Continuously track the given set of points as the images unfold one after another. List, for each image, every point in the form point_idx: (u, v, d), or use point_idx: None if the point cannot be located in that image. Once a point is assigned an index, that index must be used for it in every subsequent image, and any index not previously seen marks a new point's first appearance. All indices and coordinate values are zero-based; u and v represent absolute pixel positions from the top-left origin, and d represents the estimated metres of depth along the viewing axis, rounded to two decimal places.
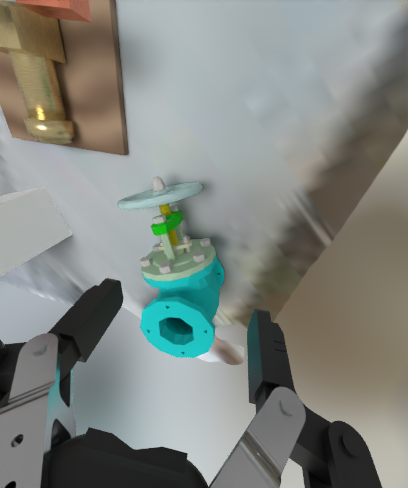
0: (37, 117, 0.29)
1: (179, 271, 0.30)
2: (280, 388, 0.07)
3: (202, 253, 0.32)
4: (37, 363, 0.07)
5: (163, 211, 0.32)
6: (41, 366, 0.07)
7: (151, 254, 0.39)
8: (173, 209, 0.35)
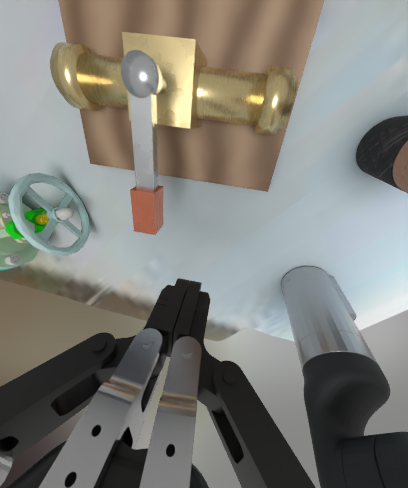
0: (79, 81, 0.23)
1: None
2: (186, 337, 0.09)
3: (17, 263, 0.35)
4: (140, 356, 0.08)
5: (40, 220, 0.33)
6: (157, 359, 0.08)
7: None
8: None
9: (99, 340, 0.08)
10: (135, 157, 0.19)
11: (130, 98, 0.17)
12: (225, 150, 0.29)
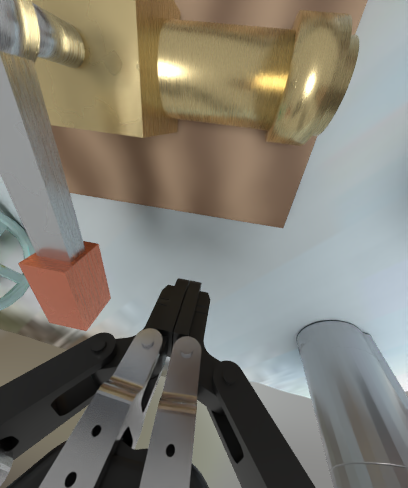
0: None
1: None
2: (185, 337, 0.09)
3: None
4: (141, 356, 0.08)
5: None
6: (157, 359, 0.08)
7: None
8: None
9: (99, 340, 0.08)
10: (15, 202, 0.09)
11: None
12: (217, 167, 0.18)
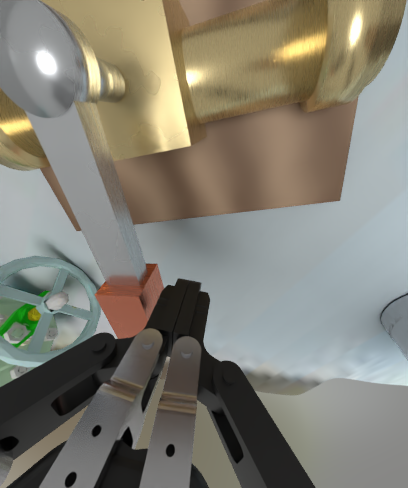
0: (7, 133, 0.15)
1: None
2: (185, 337, 0.09)
3: None
4: (140, 356, 0.08)
5: (34, 316, 0.25)
6: (157, 359, 0.08)
7: None
8: None
9: (100, 340, 0.08)
10: (88, 237, 0.10)
11: (33, 124, 0.07)
12: (253, 158, 0.18)
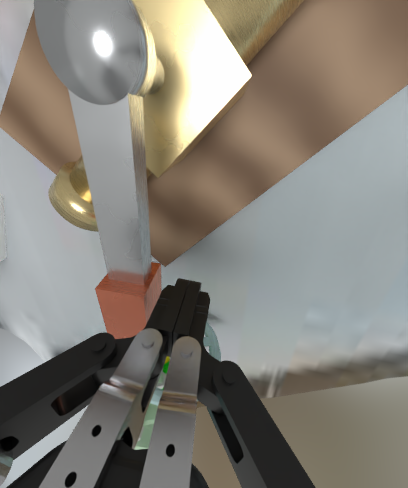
0: (88, 199, 0.16)
1: None
2: (185, 337, 0.09)
3: None
4: (140, 356, 0.08)
5: None
6: (157, 359, 0.08)
7: None
8: None
9: (99, 340, 0.08)
10: (101, 230, 0.09)
11: (74, 105, 0.07)
12: (306, 80, 0.14)
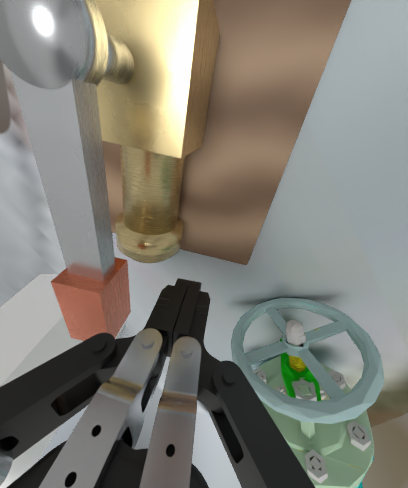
0: (145, 232, 0.17)
1: (344, 482, 0.19)
2: (186, 337, 0.09)
3: (368, 436, 0.20)
4: (140, 356, 0.08)
5: (298, 365, 0.21)
6: (157, 359, 0.08)
7: None
8: None
9: (99, 340, 0.08)
10: (56, 221, 0.09)
11: (17, 87, 0.06)
12: None
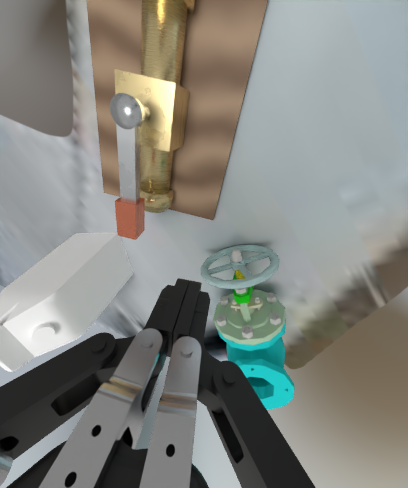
0: (151, 192, 0.31)
1: (261, 336, 0.33)
2: (186, 337, 0.09)
3: (279, 317, 0.35)
4: (140, 356, 0.08)
5: (240, 277, 0.36)
6: (157, 359, 0.08)
7: (219, 308, 0.42)
8: None
9: (99, 340, 0.08)
10: (120, 174, 0.23)
11: (117, 128, 0.20)
12: (213, 60, 0.25)
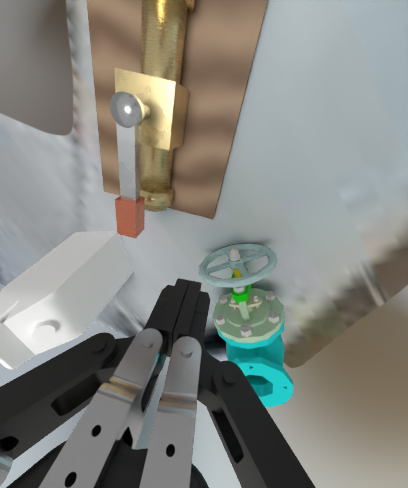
0: (151, 191, 0.31)
1: (260, 335, 0.33)
2: (186, 337, 0.09)
3: (277, 315, 0.35)
4: (140, 356, 0.08)
5: (238, 276, 0.36)
6: (157, 359, 0.08)
7: (218, 307, 0.42)
8: None
9: (99, 340, 0.08)
10: (120, 173, 0.23)
11: (117, 127, 0.20)
12: (213, 58, 0.25)
